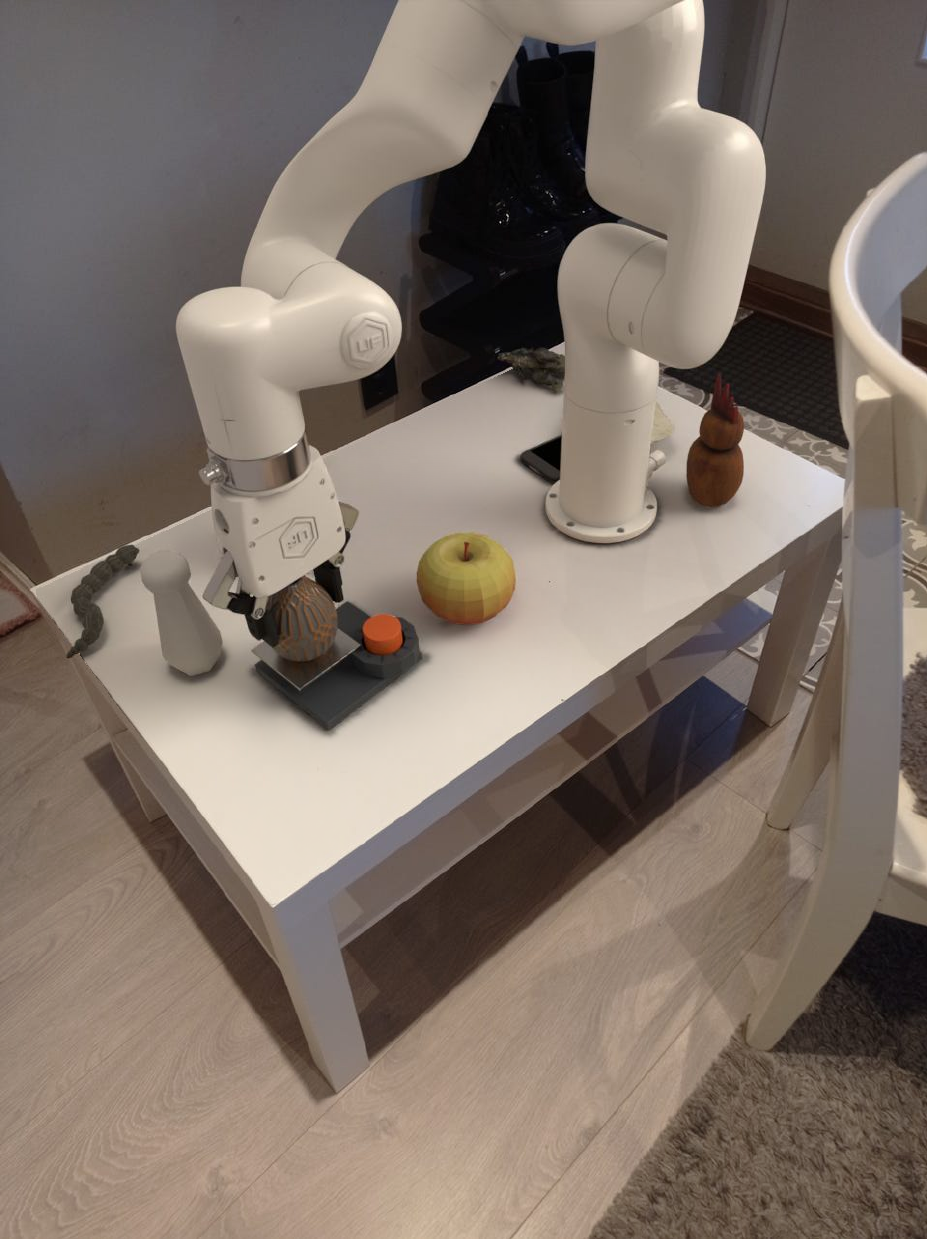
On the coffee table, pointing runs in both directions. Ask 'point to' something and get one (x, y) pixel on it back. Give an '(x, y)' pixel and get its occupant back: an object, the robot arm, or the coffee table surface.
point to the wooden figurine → (717, 452)
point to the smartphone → (545, 459)
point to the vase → (303, 620)
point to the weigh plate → (309, 670)
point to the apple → (466, 578)
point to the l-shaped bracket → (349, 672)
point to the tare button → (382, 634)
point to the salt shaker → (181, 614)
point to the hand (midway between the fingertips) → (299, 615)
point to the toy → (91, 585)
